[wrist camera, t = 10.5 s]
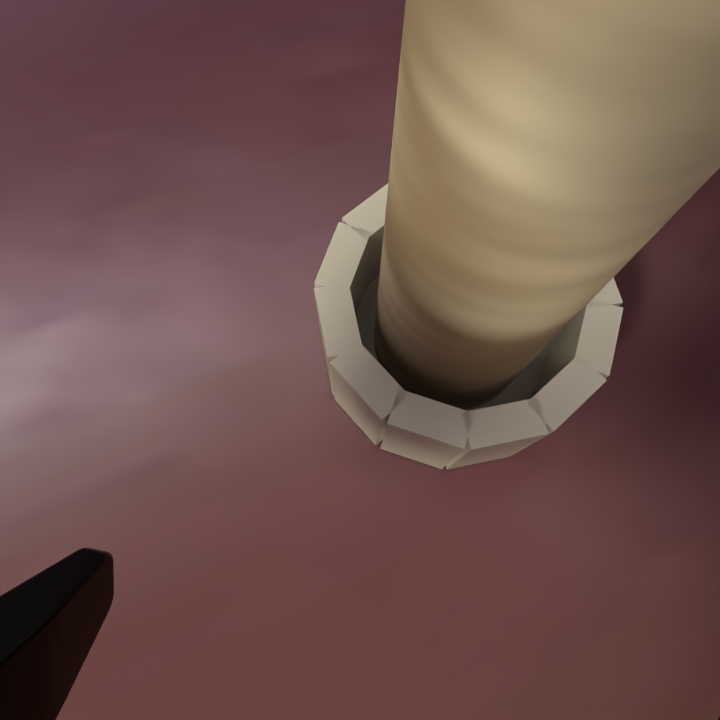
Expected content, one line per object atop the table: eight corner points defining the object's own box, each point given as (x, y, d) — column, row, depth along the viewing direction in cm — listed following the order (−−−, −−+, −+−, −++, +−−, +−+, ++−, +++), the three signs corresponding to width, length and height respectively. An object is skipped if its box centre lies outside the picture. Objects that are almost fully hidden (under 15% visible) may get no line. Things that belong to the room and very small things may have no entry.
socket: (617, 354, 20) (681, 308, 16) (443, 521, 18) (467, 514, 14) (448, 197, 21) (468, 122, 18) (275, 332, 20) (256, 281, 16)
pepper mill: (553, 345, 19) (1302, -403, 4) (446, 442, 18) (927, -85, 3) (449, 245, 20) (726, -623, 5) (343, 331, 19) (304, -452, 4)
